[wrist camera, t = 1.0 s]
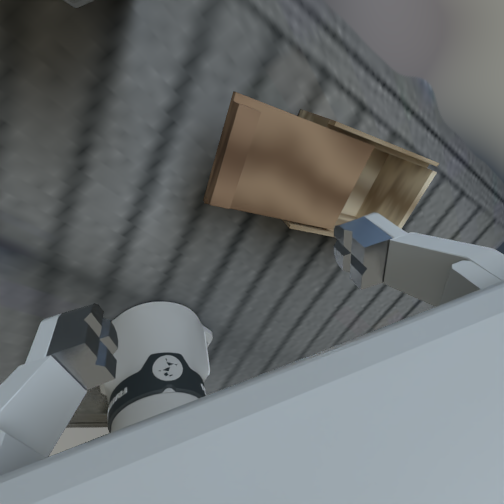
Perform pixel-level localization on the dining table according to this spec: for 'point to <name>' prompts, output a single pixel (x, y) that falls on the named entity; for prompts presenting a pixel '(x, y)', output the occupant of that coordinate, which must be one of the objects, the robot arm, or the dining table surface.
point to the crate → (378, 180)
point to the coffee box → (77, 2)
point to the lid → (283, 165)
